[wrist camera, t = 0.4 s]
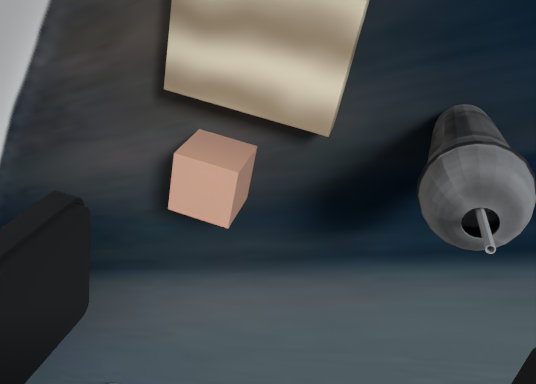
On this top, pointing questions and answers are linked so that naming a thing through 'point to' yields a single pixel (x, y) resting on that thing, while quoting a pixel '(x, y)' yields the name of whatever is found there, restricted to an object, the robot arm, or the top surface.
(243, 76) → the maple block
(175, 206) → the terracotta cube
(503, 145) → the beverage cup
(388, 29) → the top surface
